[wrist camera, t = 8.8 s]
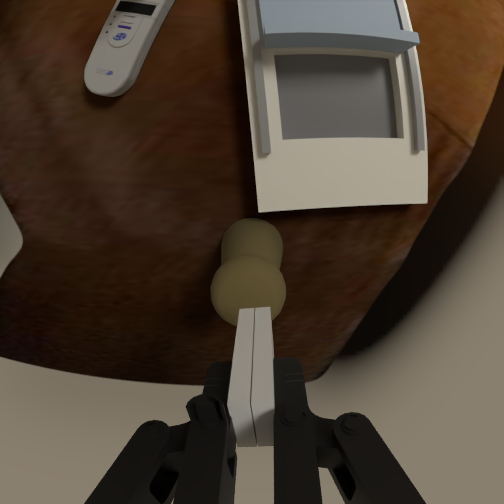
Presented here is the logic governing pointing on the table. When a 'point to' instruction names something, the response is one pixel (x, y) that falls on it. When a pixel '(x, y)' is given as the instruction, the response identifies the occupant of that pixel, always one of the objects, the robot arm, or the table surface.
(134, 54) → the electronic device
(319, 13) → the panel
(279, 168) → the socket plate
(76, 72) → the table surface
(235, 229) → the cork
